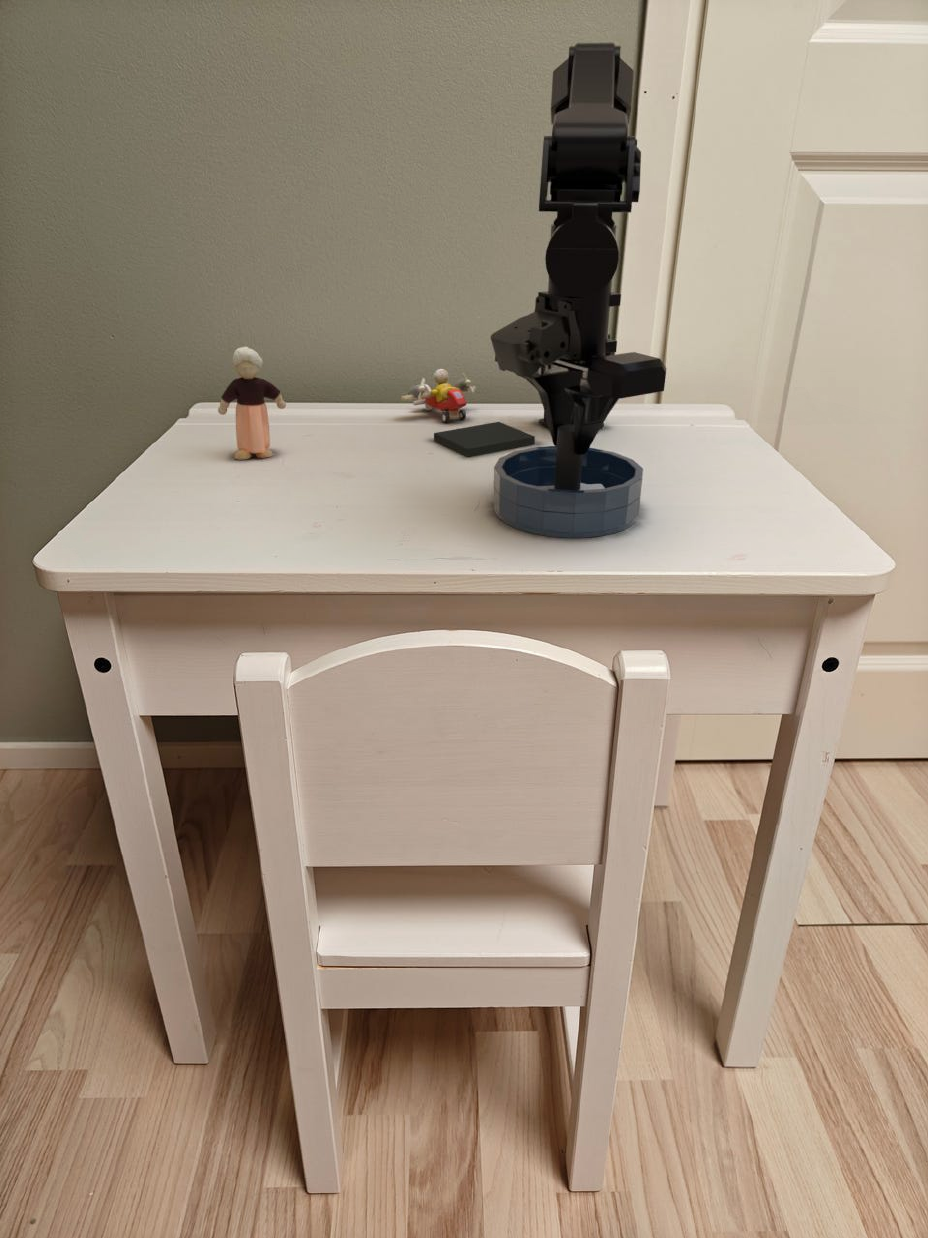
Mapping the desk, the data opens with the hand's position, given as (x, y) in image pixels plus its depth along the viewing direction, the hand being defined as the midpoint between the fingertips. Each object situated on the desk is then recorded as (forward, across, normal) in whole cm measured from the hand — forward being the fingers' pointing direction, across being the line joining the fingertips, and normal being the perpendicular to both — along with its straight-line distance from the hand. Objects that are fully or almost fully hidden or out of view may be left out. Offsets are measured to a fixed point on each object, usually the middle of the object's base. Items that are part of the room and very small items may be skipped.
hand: (569, 449), depth 85 cm
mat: (+6, -24, +6) cm, 26 cm away
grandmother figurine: (+6, -34, -20) cm, 40 cm away
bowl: (+6, 0, 0) cm, 6 cm away
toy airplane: (+6, -38, +8) cm, 39 cm away
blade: (+6, 0, 0) cm, 6 cm away
